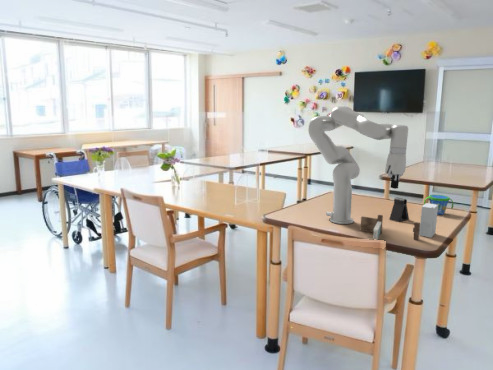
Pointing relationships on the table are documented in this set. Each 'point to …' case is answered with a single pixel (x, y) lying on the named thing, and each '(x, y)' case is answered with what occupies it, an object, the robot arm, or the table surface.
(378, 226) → the gate
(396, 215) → the door stopper
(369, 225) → the gate posts
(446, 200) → the snack cup
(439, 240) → the table surface
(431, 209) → the skincare box
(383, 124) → the robot arm
